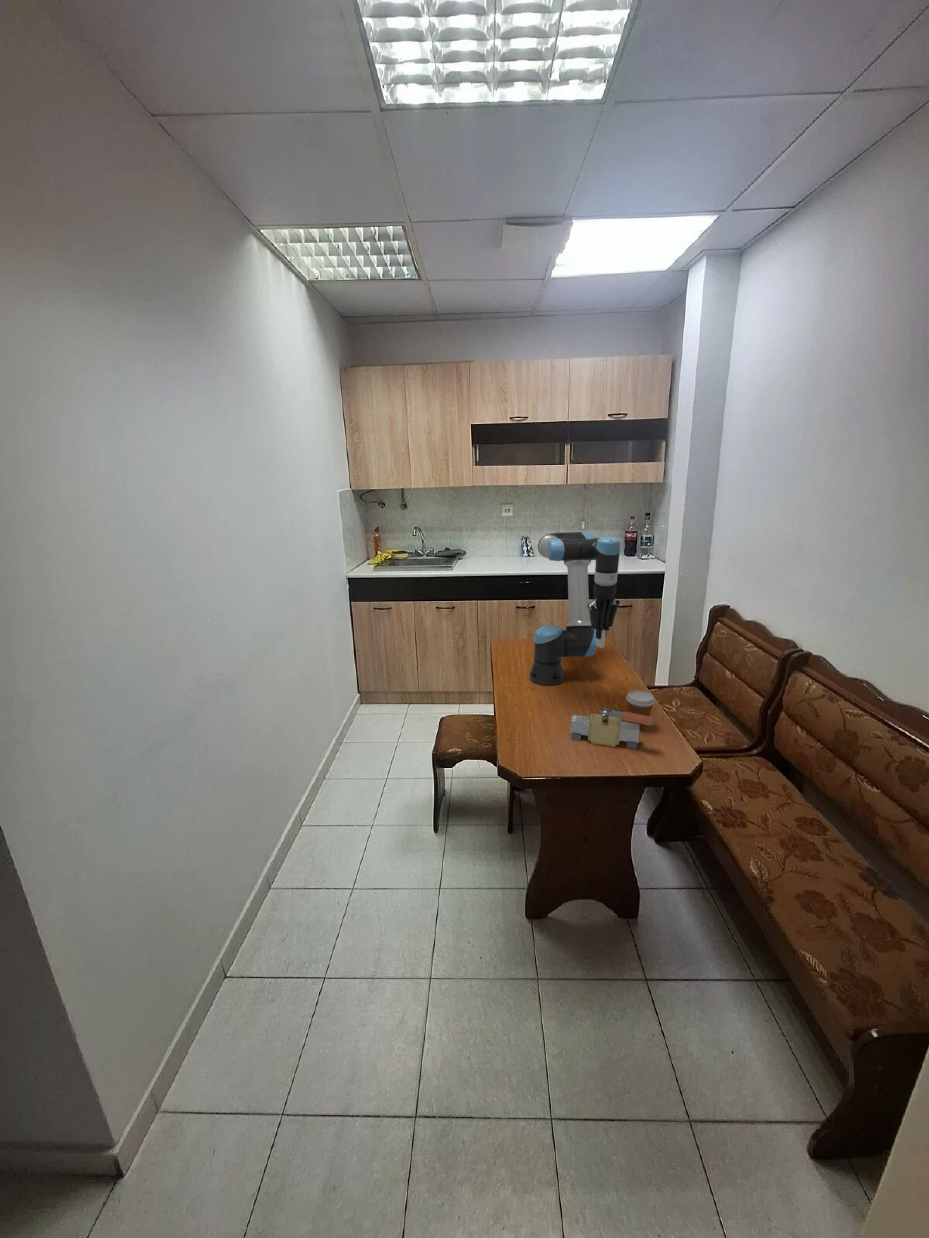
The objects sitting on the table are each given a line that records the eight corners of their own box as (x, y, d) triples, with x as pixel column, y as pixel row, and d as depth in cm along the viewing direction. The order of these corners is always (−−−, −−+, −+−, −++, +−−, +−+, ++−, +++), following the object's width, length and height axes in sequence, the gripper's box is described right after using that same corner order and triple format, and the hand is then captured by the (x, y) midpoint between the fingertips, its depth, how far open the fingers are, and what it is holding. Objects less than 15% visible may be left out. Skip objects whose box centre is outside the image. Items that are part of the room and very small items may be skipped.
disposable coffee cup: (648, 735, 168) (651, 704, 164) (620, 728, 173) (623, 698, 169) (654, 723, 176) (657, 693, 172) (627, 716, 181) (630, 687, 177)
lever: (599, 714, 162) (599, 711, 162) (601, 710, 165) (601, 706, 165) (652, 726, 155) (652, 722, 154) (653, 721, 158) (654, 717, 157)
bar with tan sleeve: (569, 739, 166) (571, 714, 163) (572, 729, 173) (573, 705, 170) (637, 750, 159) (640, 724, 156) (637, 739, 166) (640, 714, 163)
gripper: (598, 588, 161) (593, 653, 169) (627, 583, 166) (621, 646, 174) (583, 583, 167) (579, 646, 175) (612, 578, 173) (606, 639, 180)
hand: (600, 646), depth 175 cm, fingers closed
